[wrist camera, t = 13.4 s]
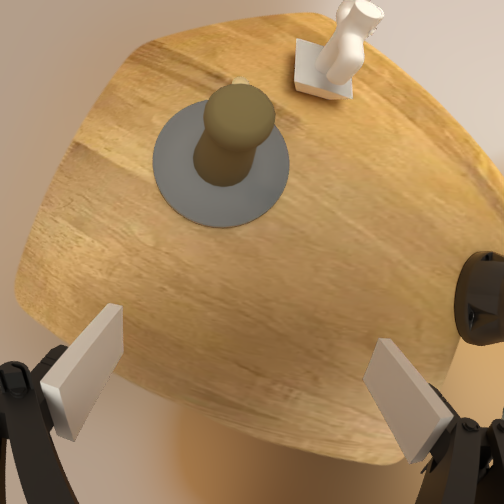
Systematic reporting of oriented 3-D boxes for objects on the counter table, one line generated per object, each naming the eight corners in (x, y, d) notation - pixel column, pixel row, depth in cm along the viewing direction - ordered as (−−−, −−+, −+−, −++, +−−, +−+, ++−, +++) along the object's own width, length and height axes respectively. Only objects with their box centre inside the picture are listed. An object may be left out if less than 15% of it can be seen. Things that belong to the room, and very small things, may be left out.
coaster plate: (305, 144, 33) (329, 122, 27) (247, 253, 31) (263, 250, 25) (199, 85, 31) (203, 53, 25) (128, 186, 29) (115, 167, 23)
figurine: (283, 104, 33) (339, 23, 18) (287, 49, 33) (333, -30, 19) (338, 119, 34) (411, 55, 19) (337, 64, 35) (395, -2, 20)
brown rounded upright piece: (180, 164, 29) (180, 112, 18) (216, 121, 30) (233, 58, 19) (230, 199, 30) (256, 162, 19) (263, 153, 30) (301, 102, 20)
